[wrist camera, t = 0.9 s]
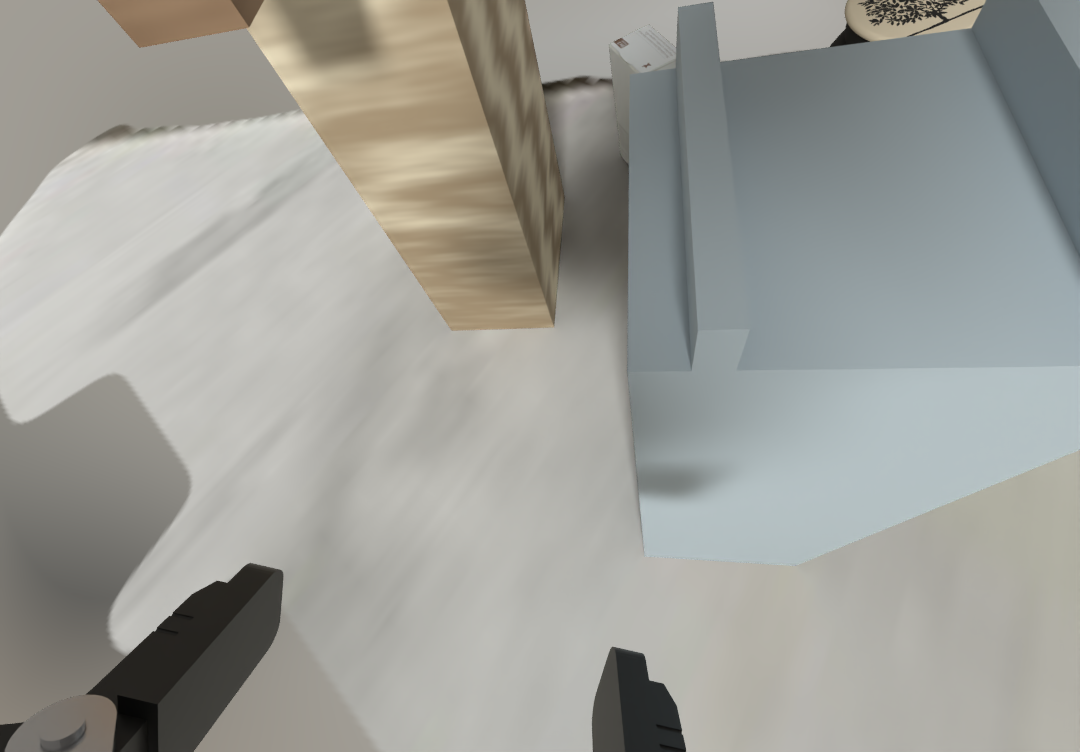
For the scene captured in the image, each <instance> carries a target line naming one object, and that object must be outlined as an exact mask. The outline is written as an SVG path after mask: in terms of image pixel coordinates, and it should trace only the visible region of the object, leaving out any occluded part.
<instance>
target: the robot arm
mask: <svg viewBox="0 0 1080 752" xmlns="http://www.w3.org/2000/svg"><path fill="white" fill-rule="evenodd" d="M282 588H283V572H282V570H279V569H274V568H270V567H266V566H261V565H257V564H252V563H249V564H247V565H245V566H244V567H243V568H242V569H241V570H240V571H239V572H238V573H237V574H236V575H235V576H234V577H233V578H232V579H231V580H230V581H229V582H228V583H225V582H221V581H216V582H214V583H212V584H210V585H208V586H207V587H205V588H203V589H201V590H199V591H197V592H195V593H194V594H192V595H191V596H190V597H189V598H188V599H187V600H186V601H185V602H183V603H182V604H181V605H180V606H179V607H178V608H177V609H176V610H175V611H174V612H173V614H172V616H169V617H168V618H167V619H166V620H164V621H163V622H162V623H161V624H160V625H159V626H158V627H157V630H156V631H155V632H154V631H153V632H152V633H151V634H150V635H149V636H148V637H147V638H145V639H144V640H143V641H142V642H141V643H140V644H139V645H138V646H137V647H136V648H135V649H134V650H133V651H132V652H131V653H130V654H129V655H128V656H126V657H125V658H124V659H123V660H122V661H121V662H120V663H119V664H118V665H117V666H116V667H115V668H114V669H113V670H112V671H111V672H110V673H109V674H108V675H106V676H105V677H104V678H103V679H102V680H101V681H100V682H99V683H98V684H97V685H96V686H95V687H94V688H93V689H92V690H90V691H89V692H88V693H87V694H86V695H79V696H75V697H70V698H67V699H64V700H61V701H59V702H56V703H54V704H52V705H50V706H48V707H46V708H44V709H42V710H41V711H39V712H38V713H36V714H35V715H33V716H32V717H30V718H29V719H28V720H27V721H25V722H23V723H15V724H5V725H0V752H194V750H195V749H196V747H197V746H198V745H199V743H200V742H201V741H202V739H203V738H204V737H205V735H206V734H207V733H208V731H209V730H210V728H211V727H212V726H213V724H214V723H215V722H216V720H217V719H218V717H219V716H220V715H221V713H222V712H223V711H224V709H225V708H226V707H227V705H228V704H229V703H230V701H231V700H232V698H233V697H234V696H235V694H236V693H237V692H238V690H239V689H240V688H241V686H242V685H243V683H244V682H245V681H246V679H247V678H248V677H249V675H250V674H251V672H252V671H253V670H254V668H255V667H256V666H257V664H258V663H259V662H260V660H261V659H262V657H263V656H264V655H265V654H266V652H267V651H268V649H269V648H270V646H271V644H272V642H273V640H274V638H275V636H276V633H277V631H278V627H279V623H280V614H281V601H282ZM681 732H682V729H681V724H680V719H679V715H678V710H677V706H676V704H675V702H674V701H673V699H672V697H671V696H670V694H669V692H668V691H667V689H666V687H665V685H664V684H662V683H658V682H654V681H649V678H648V672H647V666H646V660H645V656H644V654H642V653H638V652H634V651H629V650H625V649H620V648H616V647H612V648H611V649H610V652H609V654H608V658H607V661H606V664H605V667H604V670H603V673H602V676H601V680H600V683H599V686H598V689H597V692H596V696H595V700H594V706H593V715H592V738H593V752H686V747H685V743H684V738H683V735H682V734H681Z"/></svg>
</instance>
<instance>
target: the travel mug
mask: <svg viewBox="0 0 1080 752" xmlns="http://www.w3.org/2000/svg"><path fill="white" fill-rule="evenodd" d="M985 2H986V0H848V1H847V3H846V7H845V18H846V21H847V24H846V29H845V30H844V31H843V32H842V33H841V34H840V35H839V36H838V38H837V39H836V40H835V41H834V42H833V43H832V44H831V46H830V47H835V46H843V45H850V44H858V43H865V42H872V41H880V40H887V39H894V38H902V37H909V36H916V35H924V34H931V33H939V32H946V31H953V30H961V29H968V28H972V26H973V24H974V22H975V20H976V19H977V17H978V15H979V13H980V11H981V9H982V7H983V5H984V4H985Z"/></svg>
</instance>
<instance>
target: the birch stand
mask: <svg viewBox="0 0 1080 752" xmlns="http://www.w3.org/2000/svg"><path fill="white" fill-rule="evenodd" d="M247 30H248V31H249V33H250V34H251V35H252V37H253V38H254V39H255V41H256V43H257V44H258V46H259V47H260V49H261V50H262V52H263V53H264V55H265V56H266V58H267V59H268V61H269V62H270V63H271V65H272V66H273V68H274V69H275V71H276V72H277V74H278V75H279V77H280V78H281V80H282V81H283V83H284V84H285V86H286V87H287V89H288V90H289V91H290V93H291V94H292V96H293V97H294V99H295V100H296V102H297V103H298V105H299V106H300V108H301V109H302V111H303V112H304V114H305V115H306V117H307V118H308V120H309V121H310V122H311V124H312V125H313V127H314V128H315V130H316V131H317V133H318V134H319V136H320V137H321V139H322V140H323V142H324V143H325V145H326V146H327V148H328V149H329V150H330V152H331V153H332V155H333V156H334V158H335V159H336V161H337V162H338V164H339V165H340V167H341V168H342V170H343V171H344V173H345V174H346V176H347V177H348V178H349V180H350V181H351V183H352V184H353V186H354V187H355V189H356V190H357V192H358V193H359V195H360V196H361V198H362V199H363V201H364V202H365V204H366V205H367V206H368V208H369V209H370V211H371V212H372V214H373V215H374V217H375V218H376V220H377V221H378V223H379V224H380V226H381V227H382V229H383V230H384V232H385V233H386V234H387V236H388V237H389V239H390V240H391V242H392V243H393V245H394V246H395V248H396V249H397V251H398V252H399V254H400V255H401V257H402V258H403V260H404V261H405V263H406V264H407V265H408V267H409V268H410V270H411V271H412V273H413V274H414V276H415V277H416V279H417V280H418V282H419V283H420V285H421V286H422V288H423V289H424V291H425V292H426V293H427V295H428V296H429V298H430V299H431V301H432V302H433V304H434V305H435V307H436V308H437V310H438V311H439V313H440V314H441V316H442V317H443V319H444V320H445V321H446V323H447V324H448V326H449V327H450V329H451V330H452V331H455V330H486V329H517V328H548V327H554V321H555V309H556V296H557V284H558V272H559V259H560V247H561V235H562V222H563V210H564V198H565V197H564V192H563V187H562V182H561V177H560V172H559V167H558V162H557V157H556V152H555V148H554V143H553V138H552V133H551V128H550V123H549V118H548V113H547V108H546V103H545V98H544V93H543V88H542V83H541V78H540V74H539V68H538V64H537V59H536V54H535V49H534V44H533V39H532V34H531V29H530V24H529V19H528V14H527V9H526V4H525V0H264V1H263V3H262V5H261V7H260V9H259V11H258V12H257V14H256V16H255V18H254V20H253V22H252V23H251V25H250V27H249V28H247Z"/></svg>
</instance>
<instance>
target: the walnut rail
mask: <svg viewBox="0 0 1080 752" xmlns="http://www.w3.org/2000/svg"><path fill="white" fill-rule="evenodd" d="M98 1H99V3H100V4H101V5H102V6H103V7H104V8H105V9H106V10H107V12H108V13H109V14H110V15H111V16H112V17H113V18H114V19H115V20H116V22H117V23H118V24H119V25H120V26H121V27H122V29H123V30H124V31H125V32H126V33H127V34H128V35H129V36H130V38H131V39H132V40H133V41H134V42H135V43H136V44H137V45H138V47H139V48H141V47H147V46H152V45H157V44H163V43H168V42H174V41H179V40H184V39H190V38H195V37H201V36H206V35H212V34H217V33H222V32H228V31H233V30H239V29H244V28H249V27H250V25H251V23H252V22H253V20H254V18H255V16H256V14H257V12H258V11H259V9H260V7H261V5H262V3H263V1H264V0H98Z"/></svg>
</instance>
